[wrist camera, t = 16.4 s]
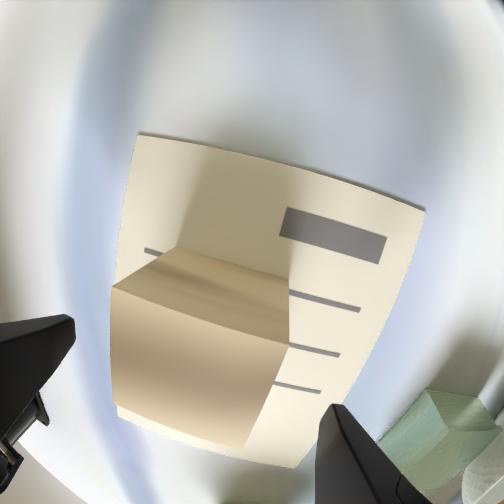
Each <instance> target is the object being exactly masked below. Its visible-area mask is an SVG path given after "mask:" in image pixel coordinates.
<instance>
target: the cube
mask: <svg viewBox="0 0 504 504" xmlns="http://www.w3.org/2000/svg"><path fill="white" fill-rule="evenodd" d="M288 348H289V280H287V279H284V278H280V277H277V276H273V275H270V274H266V273H263V272H260V271H256V270H253V269H249V268H246V267H243V266H239V265H236V264H232V263H229V262H226V261H222V260H219V259H216V258H212V257H209V256H206V255H202V254H199V253H196V252H192V251H189V250H186V249H183V248H179V247H174V248H172V249H171V250H169V251H167V252H166V253H164V254H162V255H161V256H159V257H158V258H156V259H154V260H153V261H151V262H149V263H148V264H146V265H145V266H143V267H141V268H140V269H138V270H137V271H135V272H133V273H132V274H130V275H129V276H127V277H126V278H124V279H122V280H121V281H119V282H118V283H116V284H115V285H113V286H112V290H111V313H110V357H111V380H112V394H113V403H114V404H116V405H118V406H121V407H123V408H125V409H127V410H129V411H131V412H133V413H136V414H138V415H140V416H142V417H145V418H147V419H149V420H152V421H154V422H157V423H159V424H162V425H164V426H167V427H169V428H172V429H175V430H178V431H180V432H183V433H186V434H189V435H192V436H195V437H198V438H201V439H205V440H208V441H211V442H215V443H218V444H222V445H225V446H229V447H233V448H237V449H241V450H242V449H243V447H244V445H245V443H246V441H247V439H248V437H249V435H250V433H251V431H252V429H253V427H254V425H255V423H256V420H257V418H258V416H259V414H260V412H261V410H262V408H263V405H264V403H265V401H266V399H267V397H268V394H269V392H270V390H271V388H272V385H273V383H274V381H275V379H276V376H277V374H278V372H279V369H280V367H281V365H282V362H283V360H284V357H285V355H286V353H287V350H288Z"/></svg>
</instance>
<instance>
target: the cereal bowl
mask: <svg viewBox="0 0 504 504" xmlns="http://www.w3.org/2000/svg"><path fill="white" fill-rule="evenodd" d="M494 422H495V424H496V425H500V426H501V427H502V429H503V430H502V432H501V433H500V434H499V435H498V436H497V437H496V438H495V439H494V440H493V441H492V442H491V443H490V445H489V446H488V447H487V448H486V449H485V450H484V451H483V452H482V453H481V454H480V455H479V456H477V457H476V458H475V459H474V460H473V461H472V462H471V463H470V464H469V465H468V466H467V467H466V469H465V471H464V475H463V480H462V498H463V504H497V503H499V502H500V501H502V500H504V407H503V409H502V410H501V411H500V413H499V414H498V415H497V417H496V418H495V420H494Z"/></svg>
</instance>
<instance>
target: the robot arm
mask: <svg viewBox="0 0 504 504" xmlns="http://www.w3.org/2000/svg"><path fill="white" fill-rule="evenodd" d="M75 340H76V333H75V321H74V319H73V318H72V317H70V316H68V315H66V314H61V315H55V316H48V317H42V318H35V319H29V320H22V321H15V322H8V323H1V324H0V448H1V449H2V450H3V451H4V452H5V454H3V453H2V451H1V450H0V494H1V493H2V492H3V491H5V489H6V488H7V487H8V485H9V484H10V482H11V480H12V478H13V477H14V475H15V473H16V472H17V470H18V468H19V466H20V465H21V463H22V461H23V460H24V458H23V457H22V456H21V455H20V454H19V453H18V452H17V451H16V450H15V449H14V448H13V447H12V446H13V445H14V444H15V442H16V441H17V440H18V439H19V438H20V437H21V436H22V435H23V434H24V433H25V431H26V430H27V429H28V428H29V427H30V426H31V425H32V424H33V423H34V422H35V421H36V420H39V421H40V422H41V423H43V424H44V425H45V426H48V425H49V421H48V419H47V416H46V413H45V411H44V408H43V406H42V403H41V400H40V397H39V394H38V391H39V390H40V389H41V388H42V387H43V385H44V384H45V383H46V382H47V380H48V379H49V378H50V377H51V376H52V374H53V373H54V372H55V370H56V369H57V368H58V366H59V365H60V363H61V362H62V360H63V359H64V357H65V356H66V354H67V353H68V351H69V350H70V348H71V347H72V346H73V344H74V342H75ZM315 504H432V503H431V502H430V501H429V500H428V499H427V498H426V497H424V496H423V495H422V494H421V493H420V492H419V491H418V490H417V489H416V488H415V487H414V486H413V485H412V484H411V483H410V482H409V480H408V479H407V478H406V477H405V476H404V475H403V474H401V472H400V470H399V469H398V468H397V467H396V466H395V465H394V464H393V462H392V461H391V460H390V459H389V458H388V457H387V455H386V454H385V453H384V452H383V451H382V450H381V448H380V447H379V446H378V445H377V444H376V443H375V441H374V440H373V439H372V438H371V437H370V436H369V434H368V433H367V432H366V431H365V430H364V429H363V427H362V426H361V425H360V424H359V423H358V421H357V420H356V419H355V418H354V417H353V415H352V414H351V413H350V412H349V411H348V409H347V408H346V407H345V406H344V405H342V404H336V403H332V404H330V405H329V407H328V409H327V410H326V412H325V413H324V415H323V417H322V418H321V420H320V423H319V431H318V441H317V451H316V460H315Z"/></svg>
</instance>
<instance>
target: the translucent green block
mask: <svg viewBox="0 0 504 504" xmlns="http://www.w3.org/2000/svg"><path fill="white" fill-rule="evenodd" d="M502 430H503V429H502V427H501V426H500V425H496V424H495V422H494V420H493V419H492V417H491V416H490V414H489V413H488V411H487V410H486V408H485V407H484V405H483V404H482V402H481V401H480V400H479V398H478V397H475V396H468V395H461V394H455V393H449V392H443V391H437V390H432V389H427V388H425V390H424V391H423V392H422V393H421V395H420V396H419V397H418V398H417V400H416V401H415V402H414V403H413V405H412V406H411V407H410V408H409V409H408V410H407V412H406V413H405V414H404V415H403V416H402V417H401V418H400V420H399V421H398V422H397V423H396V424H395V425H394V426H393V427H392V428H391V429H390V430H389V432H388V433H387V434H386V435H385V436H384V437H383V438H382V439H381V440H380V441H379V442H378V443H377V445H378V446H379V447H380V448H381V450H382V451H383V452H384V453H385V454H386V455H387V457H388V458H389V459H390V460H391V461H392V462H393V464H394V465H395V466H396V467H397V468H398V469H399V470H400V472H401V474H403V475H404V476H405V477H406V478H407V479H408V480H409V482H410V483H411V484H412V485H413V486H414V487H415V488H416V489H417V490H418V491H424V490H431V489H438V488H441V487H443V486H444V485H445V484H446V483H448V482H449V481H450V480H451V479H453V478H454V477H455V476H456V475H457V474H459V473H460V472H461V471H462V470H463V469H464V468H466V467H467V466H468V465H469V464H470V463H471V462H472V461H473V460H474V459H475V458H476V457H477V456H479V455H480V454H481V453H482V452H483V451H484V450H485V449H486V448H487V447H488V446H489V445H490V443H491V442H492V441H493V440H494V439H495V438H496V437H497V436H498V435H499V434H500V433H501V432H502Z"/></svg>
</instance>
